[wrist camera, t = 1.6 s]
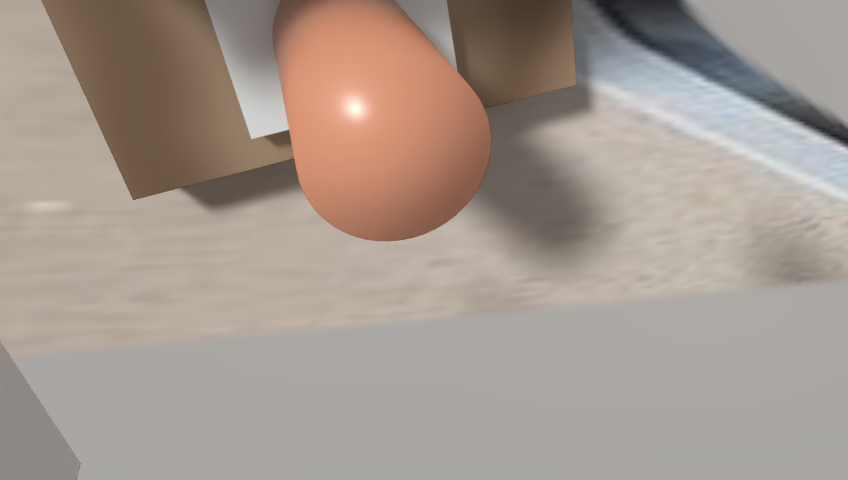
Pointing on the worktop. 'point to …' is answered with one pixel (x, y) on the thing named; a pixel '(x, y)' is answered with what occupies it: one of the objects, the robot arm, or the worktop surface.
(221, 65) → the tunnel deck
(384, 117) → the white plank with peg
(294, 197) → the worktop surface
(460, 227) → the worktop surface
